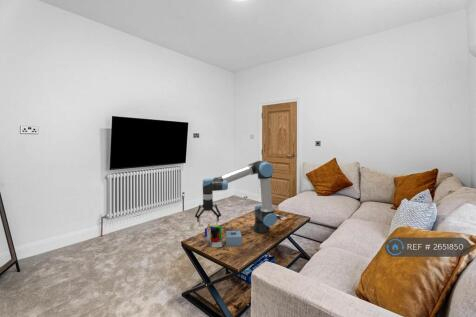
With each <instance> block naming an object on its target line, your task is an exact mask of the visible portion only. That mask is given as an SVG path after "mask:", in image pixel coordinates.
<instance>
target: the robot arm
mask: <svg viewBox="0 0 476 317" xmlns="http://www.w3.org/2000/svg"><path fill="white" fill-rule="evenodd" d="M274 171H275V170H274V166H273V165H272V164H271V163H270V162H268V161H263V160H257V161H254V162H252V163H249V164H248V165H246V166H245V167H242V168H239V169H237V170H234V171H231V172H229V173H226V174H224V175H221V176H219V177H212V178H204V179H203V180H202V204H199V205H198V209H197V210H196V213H195V215H194V218H196V219H197V220H196V221H197V223H198V227H200V226H201V216H202V214H203V213H204V212H210V211H211V212H212V213H213V215H215V216H216V220H215V221H216V226H218V222H219V221H220V217H222V213H221V212H220V210H219V208H218V205H217V203H216V204H213V203H214V202H213V198H214V196H213V195H214V194H213V192H215V191H216V192H217V191H218V192H219V191H227V190H228V188H229V183H232V182H235V181H237V180H239V179H242V178H245V177H247V176H249V175H250V176H253V175H257V179H258V180H259V186H260V198H261V204H258V205H255V206H254V225H253V228H252V230H253V232H255V233H257V234H259V235H260V234H261V235H262V234H268V233H270V231H271V228H270V227H272V226H274V225H275V224H276V223H277V222H278V216H277V215H276V214H275V208H274V207H273V202H272V201H273V198H272V186H271V185H272V184H271V179H272V178H273V173H274ZM201 208H202V210H201ZM200 210H201V211H200Z"/></svg>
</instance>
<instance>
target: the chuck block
mask: <svg viewBox="0 0 476 317" xmlns="http://www.w3.org/2000/svg"><path fill="white" fill-rule="evenodd" d="M242 238H243V237H242V232H241V229H239V230H225V238H221V242H222V243H225V245H226V247H242V246H243V243H242V242H243V240H242Z"/></svg>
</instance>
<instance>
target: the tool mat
mask: <svg viewBox="0 0 476 317" xmlns="http://www.w3.org/2000/svg"><path fill="white" fill-rule="evenodd" d="M211 248H213V249H214V248H216V249H217V248H223V242H222V241H217V242H216V243H215V242H211Z"/></svg>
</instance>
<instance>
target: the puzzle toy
mask: <svg viewBox="0 0 476 317" xmlns="http://www.w3.org/2000/svg"><path fill="white" fill-rule="evenodd" d="M210 228H211V243H212V242H215V243H216V242H219V240H222V239H223V238H222V234H223V233H222V225H217V226H216V225H215V224H210ZM204 241H205V242H207V227H205V228H204Z"/></svg>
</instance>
